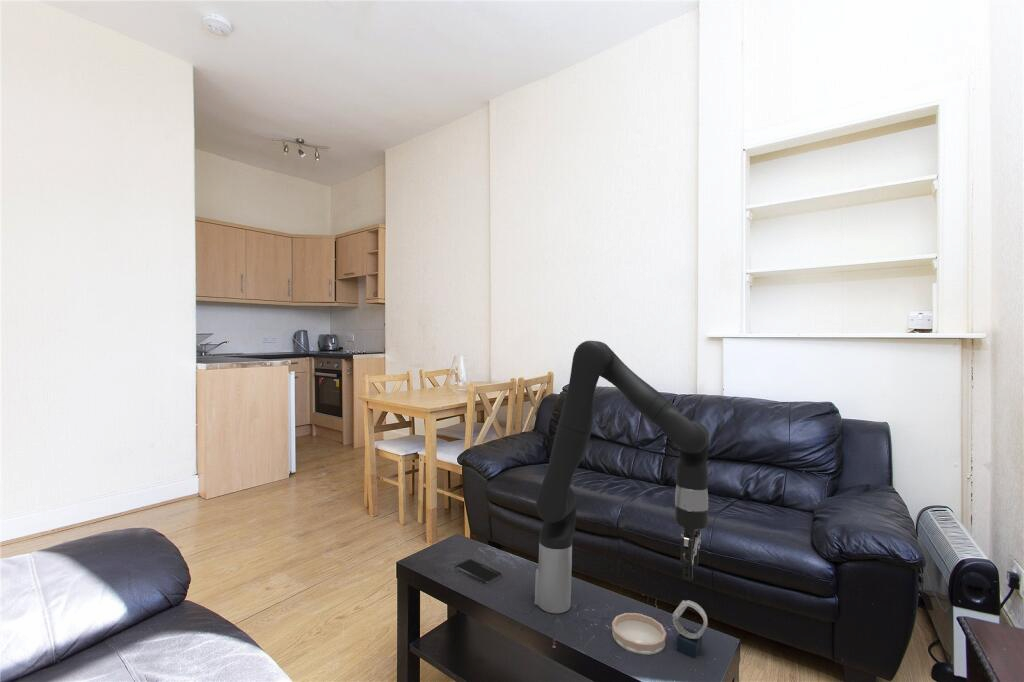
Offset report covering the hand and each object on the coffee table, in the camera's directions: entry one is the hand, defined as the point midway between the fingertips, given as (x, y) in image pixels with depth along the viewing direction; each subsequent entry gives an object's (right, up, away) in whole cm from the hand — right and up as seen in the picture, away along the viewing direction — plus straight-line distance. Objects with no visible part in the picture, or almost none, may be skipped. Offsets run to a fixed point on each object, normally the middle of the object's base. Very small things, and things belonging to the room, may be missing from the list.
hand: (690, 571), depth 109 cm
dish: (-12, -18, +3) cm, 22 cm away
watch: (-1, -19, 0) cm, 19 cm away
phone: (-54, -18, +34) cm, 66 cm away
